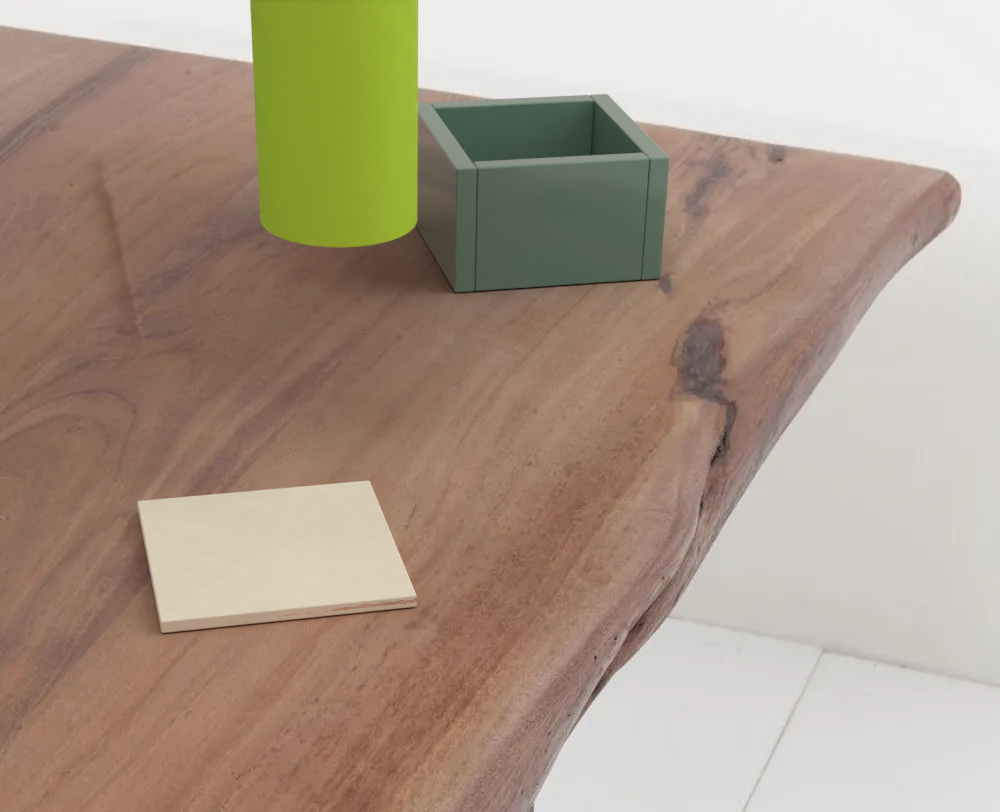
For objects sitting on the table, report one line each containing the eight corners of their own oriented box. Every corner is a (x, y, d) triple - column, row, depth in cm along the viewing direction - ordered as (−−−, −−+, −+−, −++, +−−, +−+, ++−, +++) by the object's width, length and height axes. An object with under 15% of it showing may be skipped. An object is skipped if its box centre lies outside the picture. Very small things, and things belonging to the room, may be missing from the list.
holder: (454, 293, 91) (456, 169, 87) (410, 218, 99) (410, 102, 95) (660, 279, 93) (670, 157, 89) (601, 207, 101) (607, 93, 97)
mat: (161, 633, 65) (160, 621, 65) (137, 512, 72) (136, 500, 72) (417, 607, 67) (417, 595, 67) (369, 491, 74) (369, 479, 74)
